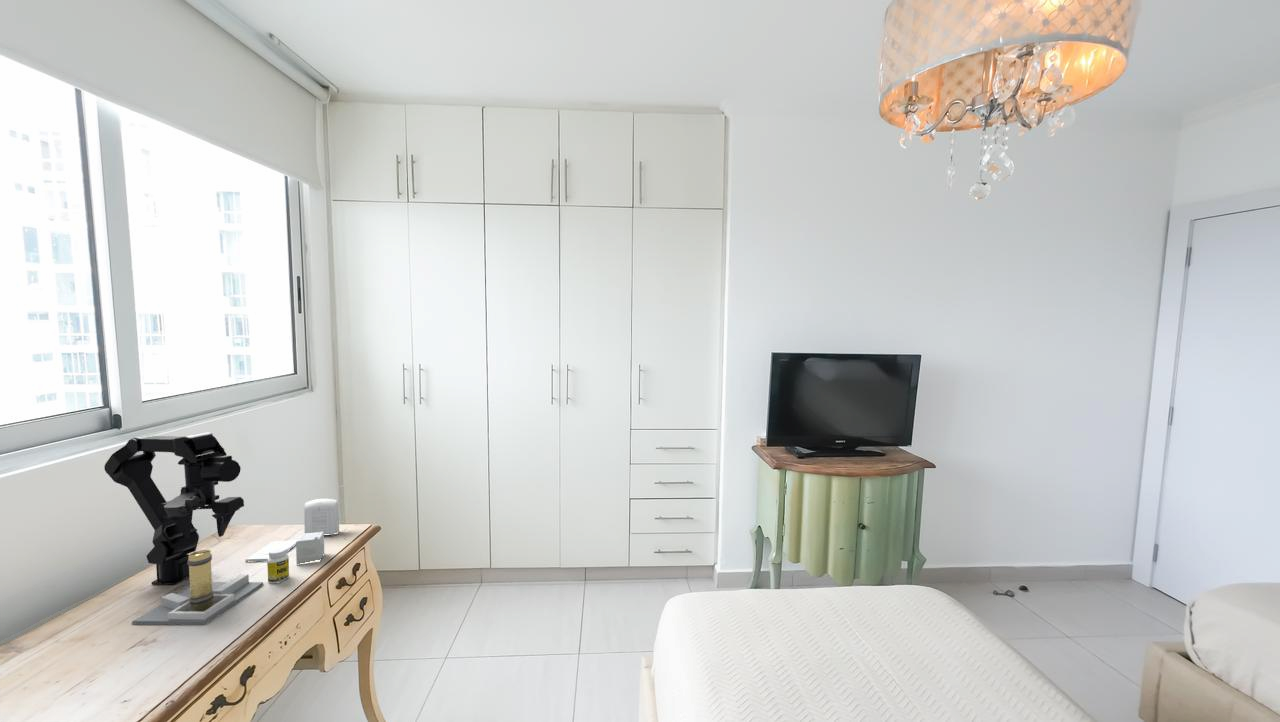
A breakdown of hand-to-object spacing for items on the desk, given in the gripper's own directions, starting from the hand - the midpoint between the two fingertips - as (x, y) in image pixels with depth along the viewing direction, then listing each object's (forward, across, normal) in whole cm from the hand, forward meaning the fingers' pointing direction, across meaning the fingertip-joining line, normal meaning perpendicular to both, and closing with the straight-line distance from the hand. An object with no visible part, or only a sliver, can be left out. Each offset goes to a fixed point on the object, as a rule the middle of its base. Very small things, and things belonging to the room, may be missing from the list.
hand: (204, 536), depth 133 cm
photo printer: (+13, +11, +32) cm, 37 cm away
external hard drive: (+14, +4, +19) cm, 24 cm away
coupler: (+13, +11, -14) cm, 21 cm away
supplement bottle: (+14, +18, +2) cm, 23 cm away
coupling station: (+13, +7, -10) cm, 18 cm away
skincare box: (+14, +19, +14) cm, 27 cm away
